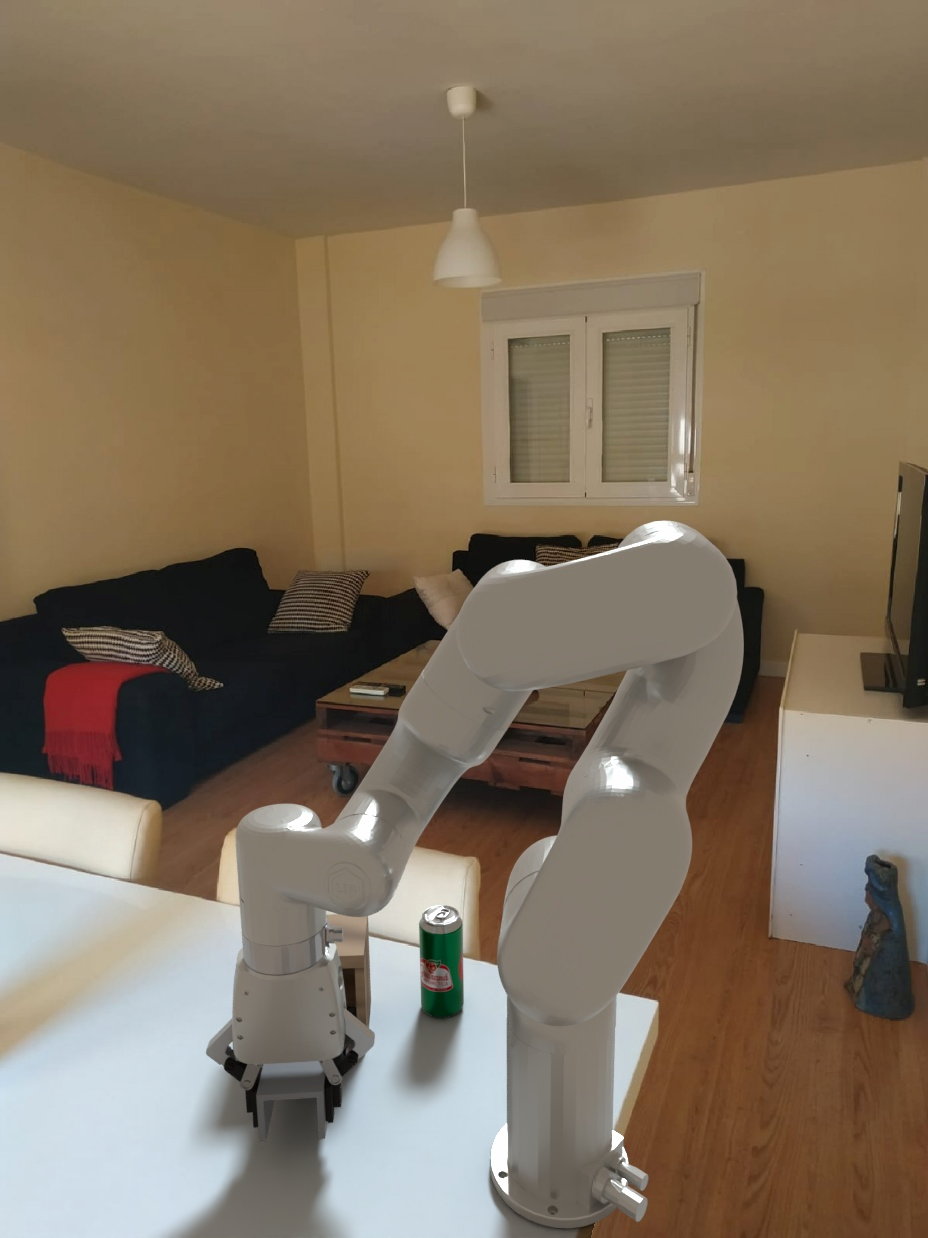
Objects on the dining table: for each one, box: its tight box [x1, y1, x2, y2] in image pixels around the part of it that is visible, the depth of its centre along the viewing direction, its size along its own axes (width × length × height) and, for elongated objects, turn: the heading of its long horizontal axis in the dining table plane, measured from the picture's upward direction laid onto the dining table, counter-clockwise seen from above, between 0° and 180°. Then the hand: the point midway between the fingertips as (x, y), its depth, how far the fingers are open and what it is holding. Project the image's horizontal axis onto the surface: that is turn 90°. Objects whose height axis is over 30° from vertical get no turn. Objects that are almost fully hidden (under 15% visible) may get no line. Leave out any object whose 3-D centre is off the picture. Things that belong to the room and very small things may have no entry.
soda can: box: [418, 904, 465, 1019], centre depth 100 cm, size 5×5×12 cm
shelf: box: [326, 913, 372, 1029], centre depth 97 cm, size 8×12×12 cm
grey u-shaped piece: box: [256, 1061, 328, 1144], centre depth 85 cm, size 14×6×5 cm, turn 4°
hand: (295, 1112), depth 81 cm, fingers closed on grey u-shaped piece, 6 cm apart
